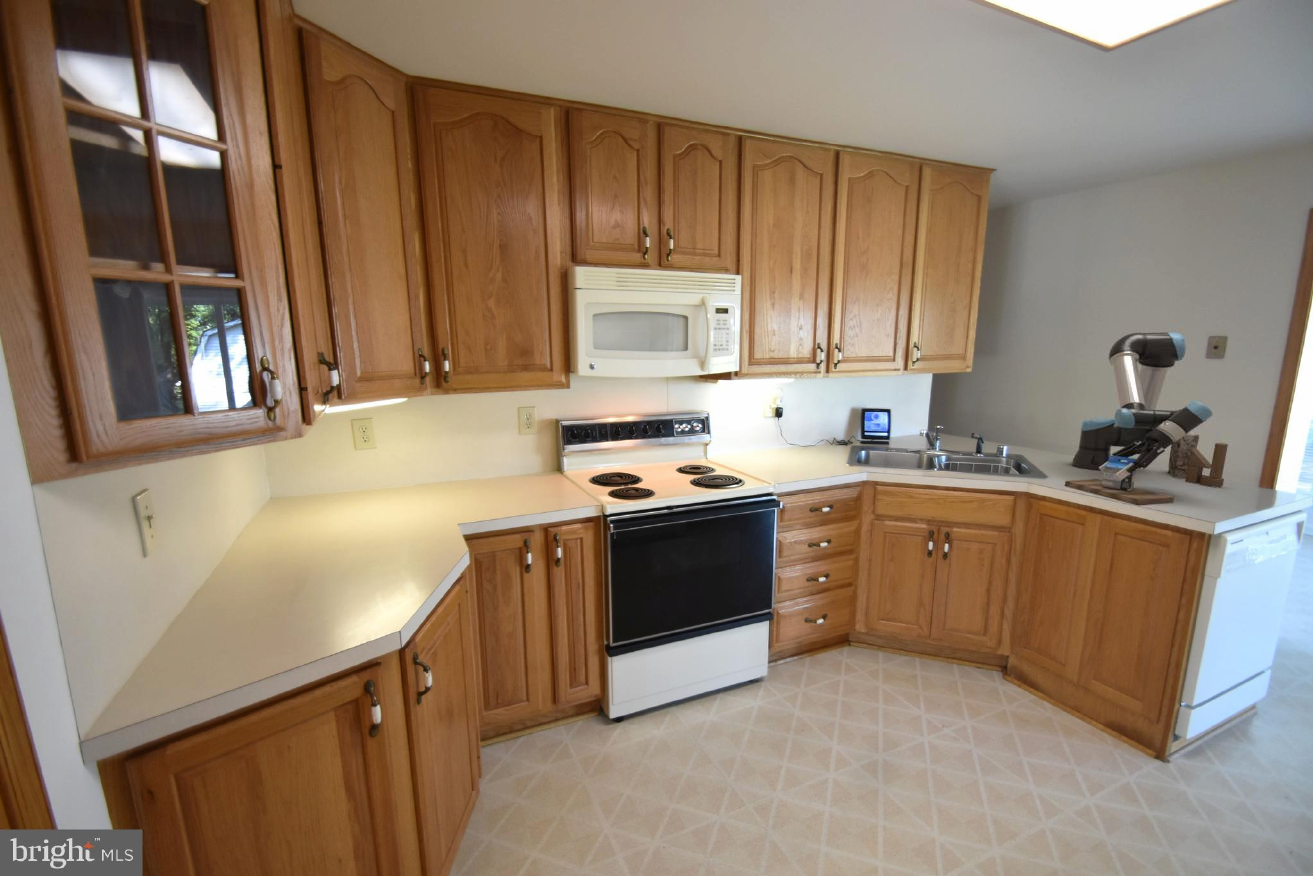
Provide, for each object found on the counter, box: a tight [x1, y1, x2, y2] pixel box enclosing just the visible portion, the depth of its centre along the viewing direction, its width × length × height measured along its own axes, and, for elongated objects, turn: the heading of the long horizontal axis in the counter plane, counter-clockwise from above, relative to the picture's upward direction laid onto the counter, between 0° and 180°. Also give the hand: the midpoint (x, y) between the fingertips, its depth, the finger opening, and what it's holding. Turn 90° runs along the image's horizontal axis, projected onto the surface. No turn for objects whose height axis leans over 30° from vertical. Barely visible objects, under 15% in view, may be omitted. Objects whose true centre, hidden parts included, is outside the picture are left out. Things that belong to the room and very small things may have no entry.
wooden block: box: [1185, 442, 1229, 488], centre depth 219 cm, size 4×11×18 cm, turn 16°
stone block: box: [1167, 430, 1200, 480], centre depth 234 cm, size 13×7×20 cm, turn 153°
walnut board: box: [1064, 478, 1175, 506], centre depth 206 cm, size 28×16×2 cm, turn 12°
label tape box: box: [1101, 455, 1137, 491], centre depth 205 cm, size 9×4×12 cm, turn 36°
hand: (1109, 473), depth 206 cm, fingers open, 10 cm apart
